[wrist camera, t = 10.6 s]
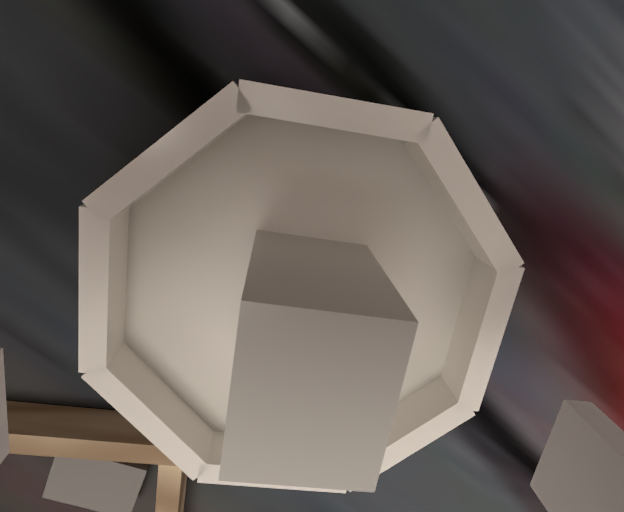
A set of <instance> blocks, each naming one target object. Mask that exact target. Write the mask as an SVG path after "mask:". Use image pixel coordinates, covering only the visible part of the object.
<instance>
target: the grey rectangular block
mask: <svg viewBox="0 0 624 512" xmlns="http://www.w3.org/2000/svg"><path fill="white" fill-rule="evenodd" d="M149 465H150V464H142V463H129V462H116V461H103V460H90V459H76V458H63V457H54V461H53V464H52V467H51V470H50V474H49V477H48V480H47V483H46V487H45V490H44V493H43V496H42V498H46V499H51V500H55V501H59V502H63V503H67V504H71V505H75V506H79V507H83V508H87V509H91V510H95V511H99V512H132V509H133V507H134V504H135V501H136V499H137V496H138V494H139V491H140V488H141V486H142V483H143V481H144V478H145V475H146V473H147V470H148V467H149Z"/></svg>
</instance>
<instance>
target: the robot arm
mask: <svg viewBox="0 0 624 512" xmlns="http://www.w3.org/2000/svg"><path fill="white" fill-rule="evenodd" d="M9 452H10V451H9V436H8V420H7V404H6V389H5V373H4V358H3V348H0V464H1V463H2V461H3V460H4V459H5V457H6V456H7V455H8V453H9ZM530 486H531V487H532V489H533V490H534V492H535V493H536V495H537V496H538V498H539V499H540V501H541V502H542V504H543V505H544V507H545V508H546V509H547V511H548V512H624V432H623V431H622V430H621V429H620V428H619V427H618V426H617V425H616V424H615V423H614V422H613V421H611V420H610V419H609V418H608V417H607V416H606V415H605V414H604V413H603V412H602V411H601V410H600V409H598V408H597V407H596V406H595V405H594V404H593V403H592V402H585V401H574V400H564V401H563V403H562V406H561V408H560V411H559V413H558V416H557V418H556V421H555V423H554V426H553V428H552V431H551V433H550V436H549V438H548V441H547V443H546V446H545V448H544V451H543V453H542V456H541V458H540V461H539V463H538V466H537V468H536V471H535V473H534V476H533V478H532V481H531V483H530Z"/></svg>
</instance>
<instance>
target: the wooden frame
mask: <svg viewBox="0 0 624 512" xmlns="http://www.w3.org/2000/svg"><path fill="white" fill-rule="evenodd" d="M6 404H7V420H8V436H9V451H10V452H9V453H11V454H24V455H37V456H50V457H63V458H76V459H90V460H103V461H116V462H129V463H142V464H155V465H159V466H158V480H157V494H156V509H155V512H184V504H185V494H186V483H187V475H186V474H185V473H184V472H183V471H182V470H181V469H180V468H179V467H177V466H176V465H175V464H174V463H173V462H172V461H171V460H170V459H169V458H168V457H167V456H166V455H165V454H163V453H162V452H161V451H160V450H159V449H158V448H157V447H156V446H155V445H154V444H153V443H152V442H150V441H149V440H148V439H147V438H146V437H145V436H144V435H143V434H142V433H141V432H140V431H139V430H137V429H136V428H135V427H134V426H133V425H132V424H131V423H130V422H129V421H128V420H127V419H126V418H125V417H123V416H122V415H121V414H120V413H119V412H118V411H117V410H106V409H94V408H83V407H72V406H61V405H49V404H38V403H27V402H16V401H6Z"/></svg>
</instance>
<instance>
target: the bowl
mask: <svg viewBox="0 0 624 512" xmlns="http://www.w3.org/2000/svg"><path fill="white" fill-rule="evenodd" d="M433 115H434V114H433V113H428V112H422V111H416V110H411V109H405V108H399V107H394V106H388V105H383V104H377V103H371V102H366V101H360V100H354V99H349V98H343V97H338V96H332V95H326V94H321V93H315V92H309V91H304V90H298V89H292V88H287V87H281V86H276V85H270V84H264V83H259V82H253V81H247V80H242V79H239V85H238V84H236V83H235V82H234V81H232V82H231V83H230V84H228V85H227V86H226V87H225V88H223V89H222V90H221V91H220V92H218V93H217V94H216V95H214V96H213V97H212V98H211V99H209V100H208V101H207V102H206V103H204V104H203V105H202V106H201V107H199V108H198V109H197V110H196V111H194V112H193V113H192V114H191V115H189V116H188V117H187V118H186V119H184V120H183V121H182V122H181V123H179V124H178V125H177V126H175V127H174V128H173V129H172V130H170V131H169V132H168V133H167V134H165V135H164V136H163V137H162V138H160V139H159V140H158V141H157V142H155V143H154V144H153V145H152V146H150V147H149V148H148V149H147V150H145V151H144V152H143V153H141V154H140V155H139V156H138V157H136V158H135V159H134V160H133V161H131V162H130V163H129V164H128V165H126V166H125V167H124V168H123V169H121V170H120V171H119V172H118V173H116V174H115V175H114V176H113V177H111V178H110V179H109V180H108V181H106V182H105V183H104V184H102V185H101V186H100V187H99V188H97V189H96V190H95V191H94V192H92V193H91V194H90V195H89V196H87V197H86V198H85V199H84V200H82V202H83V203H84V204H83V205H81V206H79V347H78V372H80V373H83V375H82V376H81V378H82V379H83V380H85V381H86V382H87V383H88V384H89V385H90V386H91V387H92V388H93V389H94V390H95V391H96V392H98V393H99V394H100V395H101V396H102V397H103V398H104V399H105V400H106V401H107V402H108V403H109V404H110V405H112V406H113V407H114V408H115V409H116V410H117V411H118V412H119V413H120V414H121V415H122V416H123V417H125V418H126V419H127V420H128V421H129V422H130V423H131V424H132V425H133V426H134V427H135V428H136V429H137V430H139V431H140V432H141V433H142V434H143V435H144V436H145V437H146V438H147V439H148V440H149V441H150V442H152V443H153V444H154V445H155V446H156V447H157V448H158V449H159V450H160V451H161V452H162V453H163V454H165V455H166V456H167V457H168V458H169V459H170V460H171V461H172V462H173V463H174V464H175V465H176V466H177V467H179V468H180V469H181V470H182V471H183V472H184V473H185V474H186V475H187V476H188V477H189V478H190V479H192V480H195V479H196V478H198V480H197V483H210V484H224V485H238V486H251V487H265V488H279V489H293V490H307V491H320V492H334V493H346V490H336V489H322V488H309V487H296V486H282V485H269V484H256V483H243V482H229V481H218V479H219V471H220V463H221V455H222V447H223V439H224V431H225V423H226V415H227V407H228V399H229V391H230V383H231V375H232V367H233V359H234V351H235V343H236V335H237V327H238V319H239V311H240V303H241V298H242V293H243V289H244V284H245V280H246V275H247V271H248V266H249V262H250V257H251V253H252V248H253V244H254V239H255V235H256V230H263V231H270V232H277V233H284V234H291V235H298V236H305V237H312V238H319V239H326V240H333V241H341V242H348V243H355V244H362V245H367V246H368V248H369V249H370V251H371V252H372V254H373V255H374V257H375V258H376V260H377V261H378V263H379V264H380V265H381V267H382V268H383V270H384V271H385V273H386V274H387V276H388V277H389V279H390V280H391V282H392V283H393V285H394V286H395V288H396V289H397V291H398V292H399V294H400V295H401V297H402V298H403V300H404V301H405V303H406V304H407V306H408V307H409V309H410V310H411V312H412V313H413V315H414V316H415V318H416V319H417V321H418V322H419V323H418V327H417V331H416V335H415V339H414V342H413V346H412V350H411V354H410V358H409V362H408V366H407V369H406V373H405V377H404V381H403V385H402V389H401V392H400V396H399V400H398V404H397V408H396V412H395V416H394V419H393V423H392V427H391V431H390V435H389V439H388V442H387V446H386V450H385V454H384V458H383V462H382V466H381V469H380V473H382V472H384V471H385V470H387V469H389V468H390V467H392V466H393V465H395V464H397V463H398V462H400V461H402V460H403V459H405V458H406V457H408V456H410V455H411V454H413V453H415V452H416V451H418V450H419V449H421V448H423V447H424V446H426V445H428V444H429V443H431V442H432V441H434V440H436V439H437V438H439V437H441V436H442V435H444V434H445V433H447V432H449V431H450V430H452V429H454V428H455V427H457V426H458V425H460V424H462V423H463V422H465V421H467V420H468V419H470V418H471V417H473V416H475V414H474V412H473V411H479V408H480V405H481V402H482V399H483V396H484V393H485V390H486V387H487V384H488V381H489V378H490V374H491V371H492V368H493V365H494V362H495V359H496V356H497V353H498V350H499V347H500V344H501V340H502V337H503V334H504V331H505V328H506V325H507V322H508V319H509V316H510V313H511V310H512V307H513V303H514V300H515V297H516V294H517V291H518V288H519V285H520V282H521V279H522V276H523V273H524V269H525V268H524V267H522V266H521V265H522V264H524V262H523V260H522V258H521V257H520V255H519V253H518V251H517V250H516V248H515V246H514V245H513V243H512V241H511V240H510V238H509V236H508V234H507V233H506V231H505V229H504V228H503V226H502V224H501V223H500V221H499V219H498V217H497V216H496V214H495V212H494V211H493V209H492V207H491V205H490V204H489V202H488V200H487V199H486V197H485V195H484V194H483V192H482V190H481V188H480V187H479V185H478V183H477V182H476V180H475V178H474V177H473V175H472V173H471V171H470V170H469V168H468V166H467V165H466V163H465V161H464V159H463V158H462V156H461V154H460V153H459V151H458V149H457V148H456V146H455V144H454V142H453V141H452V139H451V137H450V136H449V134H448V132H447V130H446V129H445V127H444V125H443V124H442V122H441V120H440V119H439V117H433ZM380 473H379V474H380ZM350 492H351V491H350Z"/></svg>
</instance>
